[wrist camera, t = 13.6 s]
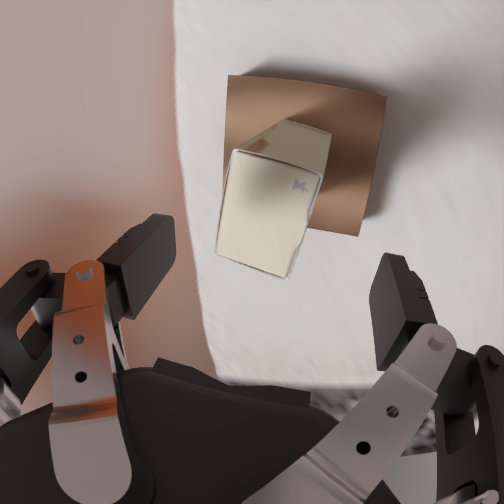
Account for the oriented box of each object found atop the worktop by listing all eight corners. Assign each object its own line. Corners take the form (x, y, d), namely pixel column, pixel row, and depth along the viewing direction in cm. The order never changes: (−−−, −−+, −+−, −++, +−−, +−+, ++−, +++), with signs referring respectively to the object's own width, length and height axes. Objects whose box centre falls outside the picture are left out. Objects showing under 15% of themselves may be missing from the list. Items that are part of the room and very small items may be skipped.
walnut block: (239, 76, 25) (228, 75, 21) (377, 95, 23) (386, 96, 20) (232, 199, 32) (221, 214, 28) (354, 218, 30) (358, 236, 27)
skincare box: (282, 117, 23) (231, 139, 12) (333, 133, 22) (328, 167, 12) (264, 186, 26) (209, 257, 16) (311, 202, 26) (287, 284, 15)
